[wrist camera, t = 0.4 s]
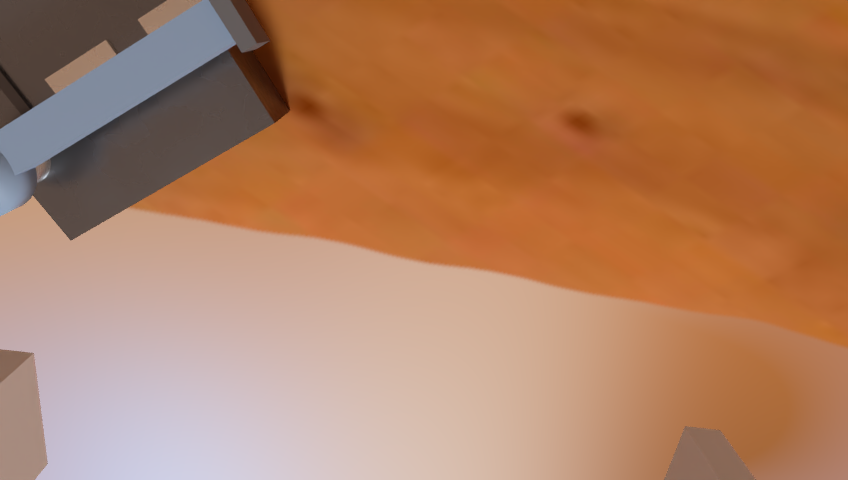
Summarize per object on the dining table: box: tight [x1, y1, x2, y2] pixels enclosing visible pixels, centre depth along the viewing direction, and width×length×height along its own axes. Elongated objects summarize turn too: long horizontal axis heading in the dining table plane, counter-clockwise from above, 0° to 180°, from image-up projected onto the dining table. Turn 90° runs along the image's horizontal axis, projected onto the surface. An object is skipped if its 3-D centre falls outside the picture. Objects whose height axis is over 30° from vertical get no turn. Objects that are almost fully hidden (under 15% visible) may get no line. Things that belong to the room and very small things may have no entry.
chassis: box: [0, 0, 290, 240], centre depth 28 cm, size 18×16×9 cm
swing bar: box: [0, 0, 270, 216], centre depth 27 cm, size 18×4×2 cm, turn 118°
